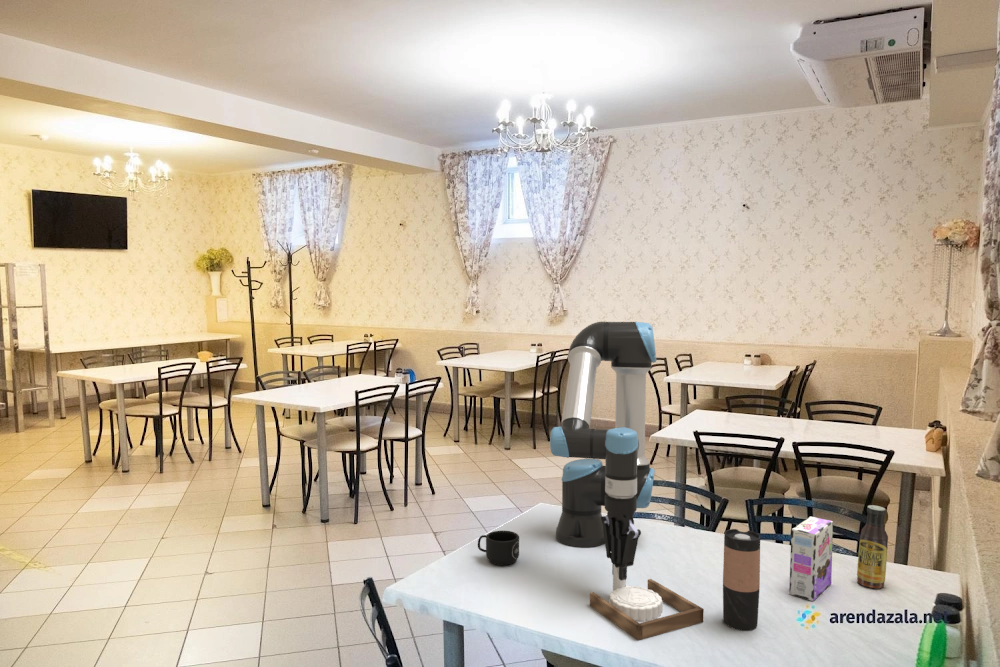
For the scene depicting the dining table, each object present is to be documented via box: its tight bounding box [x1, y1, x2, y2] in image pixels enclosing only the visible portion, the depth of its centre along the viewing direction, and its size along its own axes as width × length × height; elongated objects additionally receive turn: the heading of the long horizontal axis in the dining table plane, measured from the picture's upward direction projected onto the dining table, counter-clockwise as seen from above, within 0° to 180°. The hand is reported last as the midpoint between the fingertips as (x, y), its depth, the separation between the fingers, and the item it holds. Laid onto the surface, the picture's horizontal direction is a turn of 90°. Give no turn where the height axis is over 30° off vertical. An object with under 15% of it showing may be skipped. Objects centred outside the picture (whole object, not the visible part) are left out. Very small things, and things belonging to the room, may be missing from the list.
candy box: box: [788, 516, 834, 602], centre depth 169 cm, size 14×6×16 cm, turn 137°
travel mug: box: [722, 528, 761, 632], centre depth 152 cm, size 8×8×20 cm
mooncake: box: [609, 585, 663, 622], centre depth 159 cm, size 12×12×4 cm
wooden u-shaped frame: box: [589, 578, 705, 641], centre depth 156 cm, size 18×18×3 cm
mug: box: [477, 530, 520, 566], centre depth 187 cm, size 12×9×7 cm
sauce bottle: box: [856, 504, 889, 590], centre depth 172 cm, size 7×6×20 cm
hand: (619, 591), depth 165 cm, fingers closed
